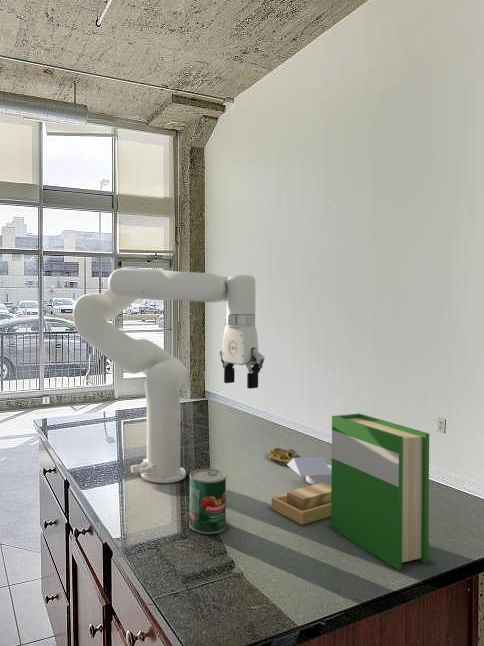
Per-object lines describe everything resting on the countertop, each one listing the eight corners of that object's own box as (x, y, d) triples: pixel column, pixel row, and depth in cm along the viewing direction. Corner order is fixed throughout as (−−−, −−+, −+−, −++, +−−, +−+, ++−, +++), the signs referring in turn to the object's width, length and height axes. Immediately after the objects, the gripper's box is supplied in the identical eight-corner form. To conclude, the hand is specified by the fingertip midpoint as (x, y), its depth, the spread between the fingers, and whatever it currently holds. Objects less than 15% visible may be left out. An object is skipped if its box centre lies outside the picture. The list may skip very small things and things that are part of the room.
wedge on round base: (300, 489, 125) (347, 486, 127) (300, 463, 125) (347, 461, 127) (286, 476, 134) (330, 474, 136) (287, 452, 134) (330, 450, 136)
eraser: (303, 515, 108) (303, 499, 108) (286, 507, 113) (287, 491, 113) (339, 504, 114) (339, 489, 114) (322, 497, 119) (322, 482, 118)
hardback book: (428, 562, 90) (429, 433, 90) (397, 569, 87) (398, 437, 87) (358, 522, 106) (359, 413, 106) (331, 527, 104) (331, 415, 103)
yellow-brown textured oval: (260, 456, 155) (283, 471, 141) (259, 442, 155) (282, 455, 141) (286, 451, 158) (312, 465, 143) (284, 436, 158) (310, 449, 143)
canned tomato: (216, 537, 99) (216, 484, 99) (182, 528, 103) (182, 476, 103) (231, 522, 106) (232, 472, 105) (199, 514, 110) (199, 466, 110)
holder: (302, 524, 105) (302, 513, 105) (271, 508, 113) (271, 497, 113) (356, 508, 113) (356, 497, 113) (323, 494, 122) (324, 484, 122)
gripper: (210, 320, 134) (210, 381, 135) (251, 322, 119) (251, 391, 120) (231, 320, 138) (231, 379, 138) (274, 322, 123) (273, 389, 123)
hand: (240, 385), depth 129 cm, fingers open, 9 cm apart
